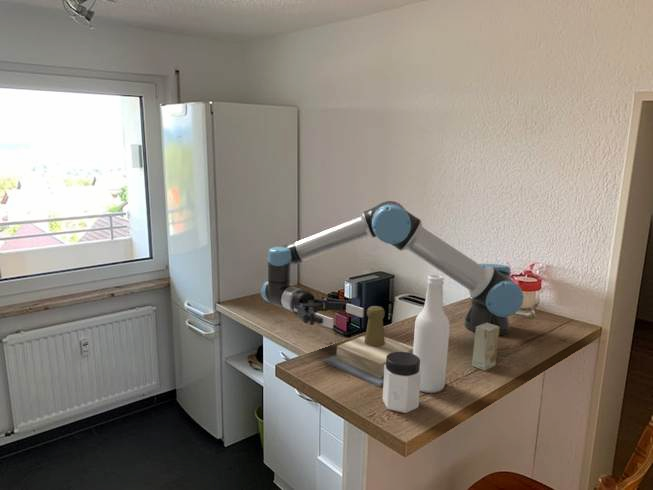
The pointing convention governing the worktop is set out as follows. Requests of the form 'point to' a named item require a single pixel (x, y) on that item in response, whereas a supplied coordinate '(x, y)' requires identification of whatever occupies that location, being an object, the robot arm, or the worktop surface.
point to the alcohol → (432, 338)
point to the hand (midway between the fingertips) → (348, 318)
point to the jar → (401, 381)
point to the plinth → (365, 358)
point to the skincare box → (485, 346)
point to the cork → (375, 327)
